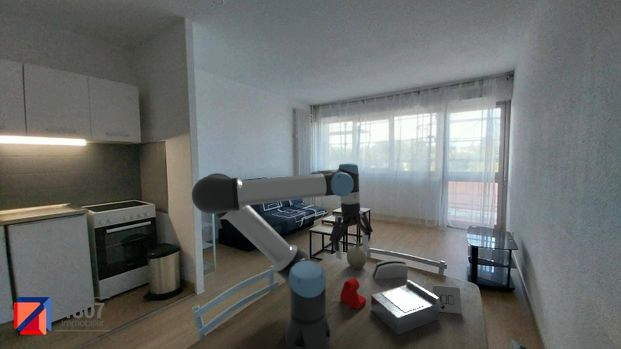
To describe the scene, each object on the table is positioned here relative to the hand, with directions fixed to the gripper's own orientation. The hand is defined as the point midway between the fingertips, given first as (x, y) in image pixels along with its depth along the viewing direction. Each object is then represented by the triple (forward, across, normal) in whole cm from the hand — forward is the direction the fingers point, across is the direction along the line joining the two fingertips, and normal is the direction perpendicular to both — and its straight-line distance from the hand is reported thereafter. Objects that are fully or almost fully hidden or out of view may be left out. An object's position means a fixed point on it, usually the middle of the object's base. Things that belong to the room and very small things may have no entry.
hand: (352, 253), depth 94 cm
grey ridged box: (+21, +10, -15) cm, 28 cm away
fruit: (+21, +20, +23) cm, 37 cm away
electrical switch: (+22, +27, -21) cm, 41 cm away
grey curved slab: (+22, +28, +7) cm, 36 cm away
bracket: (+20, -1, 0) cm, 20 cm away
